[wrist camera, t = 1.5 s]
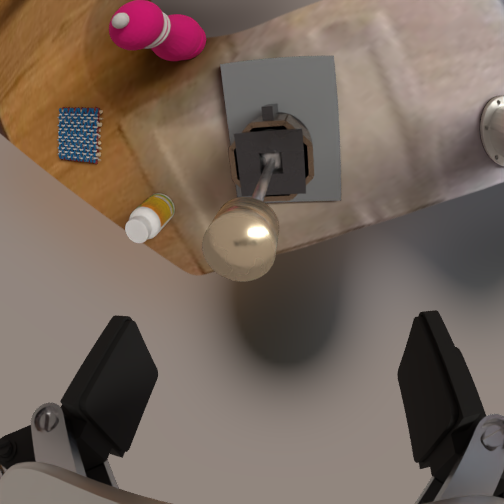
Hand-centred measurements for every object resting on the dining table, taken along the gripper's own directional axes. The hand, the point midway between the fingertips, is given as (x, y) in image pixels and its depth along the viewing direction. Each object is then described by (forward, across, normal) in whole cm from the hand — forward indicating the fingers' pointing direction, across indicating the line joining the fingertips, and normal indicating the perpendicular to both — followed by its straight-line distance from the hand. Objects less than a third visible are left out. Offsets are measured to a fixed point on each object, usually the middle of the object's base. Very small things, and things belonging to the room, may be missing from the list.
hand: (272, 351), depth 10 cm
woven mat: (+41, +36, -7) cm, 55 cm away
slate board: (+39, 0, -2) cm, 39 cm away
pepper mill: (+40, +13, -18) cm, 46 cm away
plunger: (+27, +2, 0) cm, 27 cm away
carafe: (+38, +1, 0) cm, 38 cm away
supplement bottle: (+40, +22, +9) cm, 47 cm away
